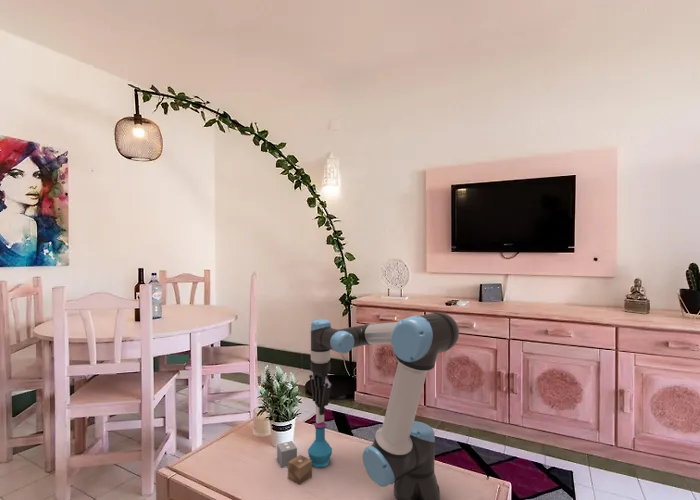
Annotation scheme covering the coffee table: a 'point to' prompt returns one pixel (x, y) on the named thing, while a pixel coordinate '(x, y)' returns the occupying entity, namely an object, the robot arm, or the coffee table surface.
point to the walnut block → (300, 469)
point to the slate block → (286, 453)
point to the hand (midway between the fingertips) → (320, 421)
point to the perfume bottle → (320, 447)
